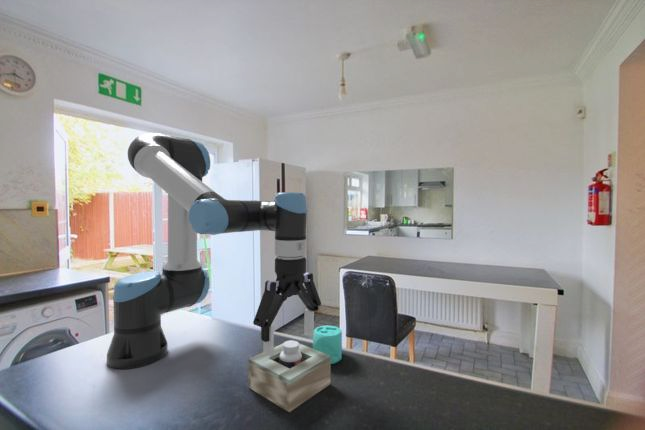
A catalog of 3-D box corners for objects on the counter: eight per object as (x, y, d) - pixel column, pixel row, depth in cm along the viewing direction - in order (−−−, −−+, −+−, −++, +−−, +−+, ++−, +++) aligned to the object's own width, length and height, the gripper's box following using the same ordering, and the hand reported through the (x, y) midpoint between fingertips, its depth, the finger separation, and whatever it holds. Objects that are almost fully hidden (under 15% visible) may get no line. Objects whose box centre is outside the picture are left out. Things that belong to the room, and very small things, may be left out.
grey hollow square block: (248, 387, 75) (248, 358, 75) (290, 365, 86) (290, 339, 86) (289, 412, 66) (289, 380, 66) (330, 383, 77) (330, 355, 77)
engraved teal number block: (341, 365, 86) (341, 336, 86) (312, 364, 87) (312, 335, 87) (341, 351, 94) (341, 325, 94) (314, 350, 95) (314, 324, 95)
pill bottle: (298, 391, 73) (298, 349, 73) (276, 388, 74) (276, 347, 74) (304, 378, 78) (304, 340, 78) (283, 375, 80) (283, 338, 79)
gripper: (259, 266, 63) (259, 369, 64) (334, 252, 82) (333, 332, 83) (237, 261, 68) (237, 358, 69) (313, 249, 87) (312, 325, 88)
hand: (290, 344), depth 76 cm, fingers open, 13 cm apart
